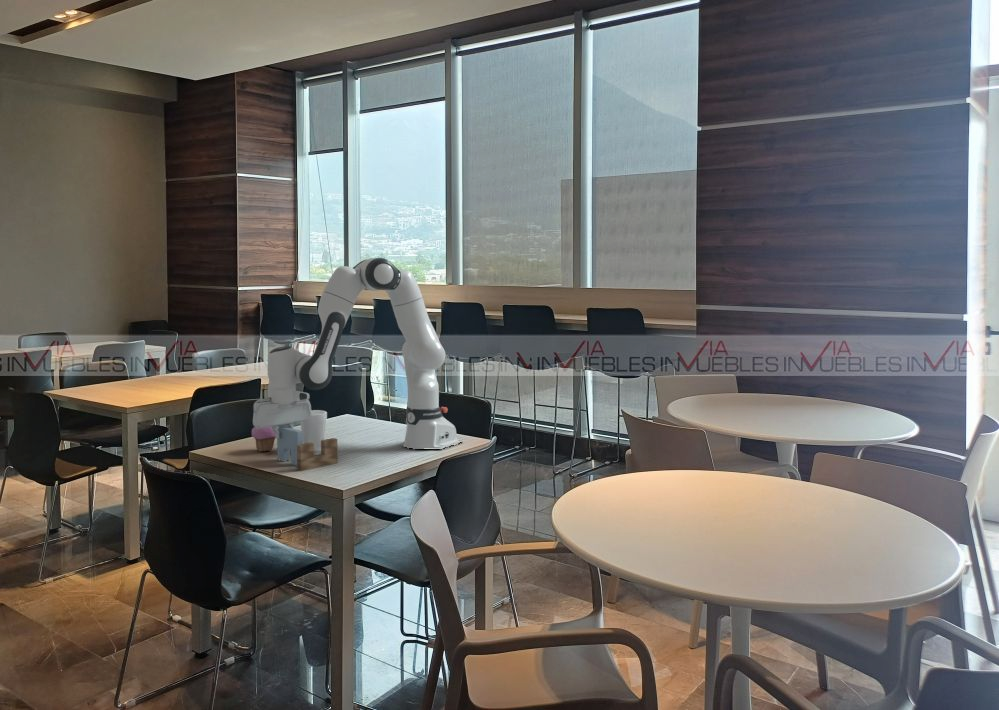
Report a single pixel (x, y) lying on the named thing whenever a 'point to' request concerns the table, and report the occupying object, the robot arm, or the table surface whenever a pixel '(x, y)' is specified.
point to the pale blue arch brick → (288, 443)
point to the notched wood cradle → (310, 460)
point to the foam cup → (314, 428)
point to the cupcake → (264, 438)
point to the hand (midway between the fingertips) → (283, 437)
